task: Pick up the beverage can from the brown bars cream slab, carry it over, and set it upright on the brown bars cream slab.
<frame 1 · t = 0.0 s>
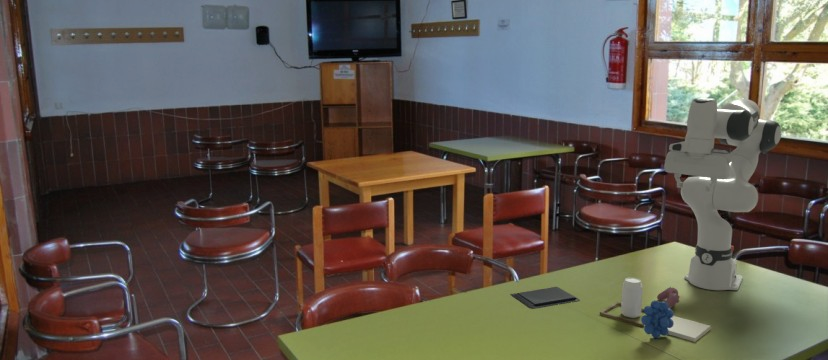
hand: (693, 189, 227), 39 cm above the table, tool pointing down, fingers open, 8 cm apart
grapes: (658, 339, 205), on the table
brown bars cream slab: (660, 323, 216), on the table
wallet: (544, 299, 239), on the table
video game controller: (667, 305, 232), on the table
beverage can: (630, 316, 223), resting in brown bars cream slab
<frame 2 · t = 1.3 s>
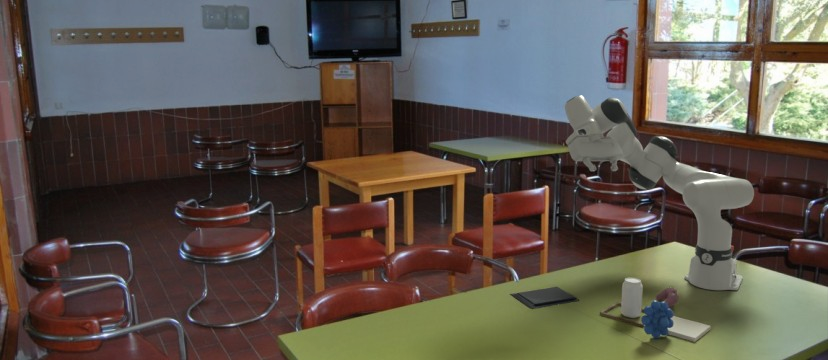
hand: (604, 170, 233), 44 cm above the table, tool tilted 40°, fingers open, 8 cm apart
nothing on the table moved.
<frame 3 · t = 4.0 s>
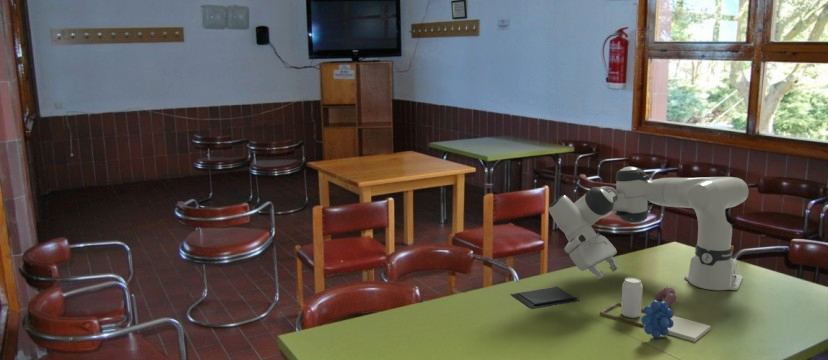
hand: (608, 273, 225), 12 cm above the table, tool tilted 45°, fingers open, 8 cm apart
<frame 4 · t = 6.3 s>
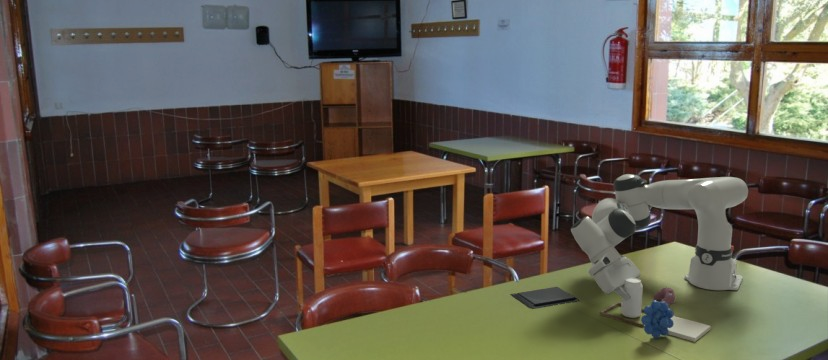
hand: (633, 296, 221), 7 cm above the table, tool tilted 45°, fingers closed on beverage can, 6 cm apart
beverage can: (630, 316, 223), resting in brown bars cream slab, touching gripper
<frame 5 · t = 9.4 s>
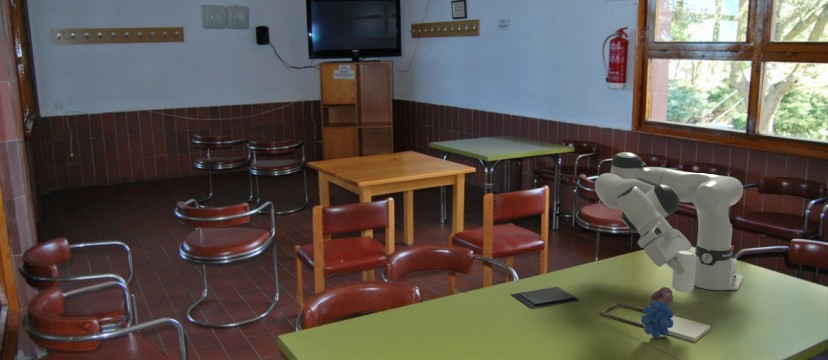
hand: (686, 269, 208), 19 cm above the table, tool tilted 45°, fingers closed on beverage can, 6 cm apart
beverage can: (682, 290, 210), point 12 cm above the table, touching gripper
when the fingers open (9 cm above the table, at t = 12.3 s): beverage can moves 1 cm, resting on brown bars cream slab.
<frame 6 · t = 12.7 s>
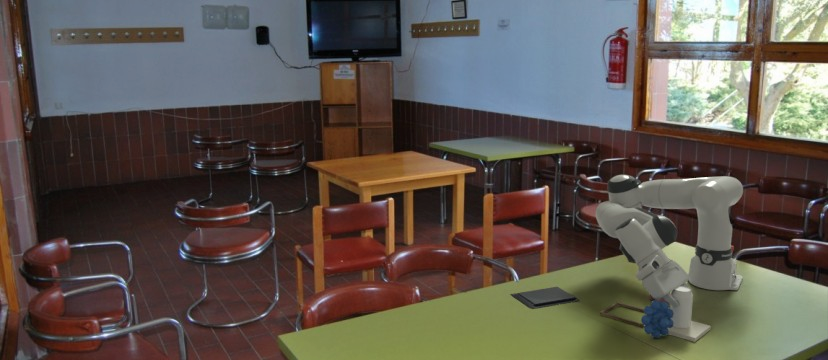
hand: (683, 302, 210), 9 cm above the table, tool tilted 45°, fingers open, 8 cm apart
beverage can: (679, 326, 212), point 1 cm above the table, touching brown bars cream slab
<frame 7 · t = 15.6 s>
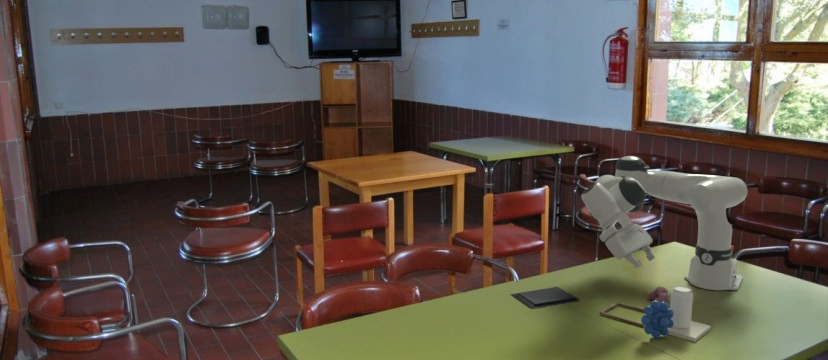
hand: (646, 262, 216), 19 cm above the table, tool tilted 45°, fingers open, 8 cm apart
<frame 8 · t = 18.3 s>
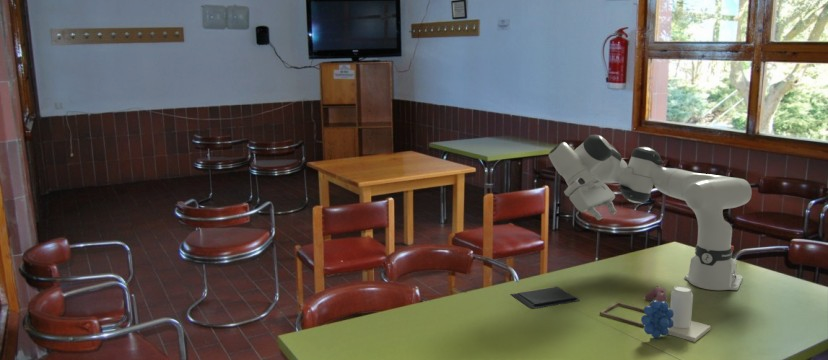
hand: (607, 216, 231), 29 cm above the table, tool tilted 45°, fingers open, 8 cm apart
at the end: beverage can inside the target area (0.5 cm from its centre), point 1.0 cm above the table; beverage can tilted 0°; the gripper is holding nothing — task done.
